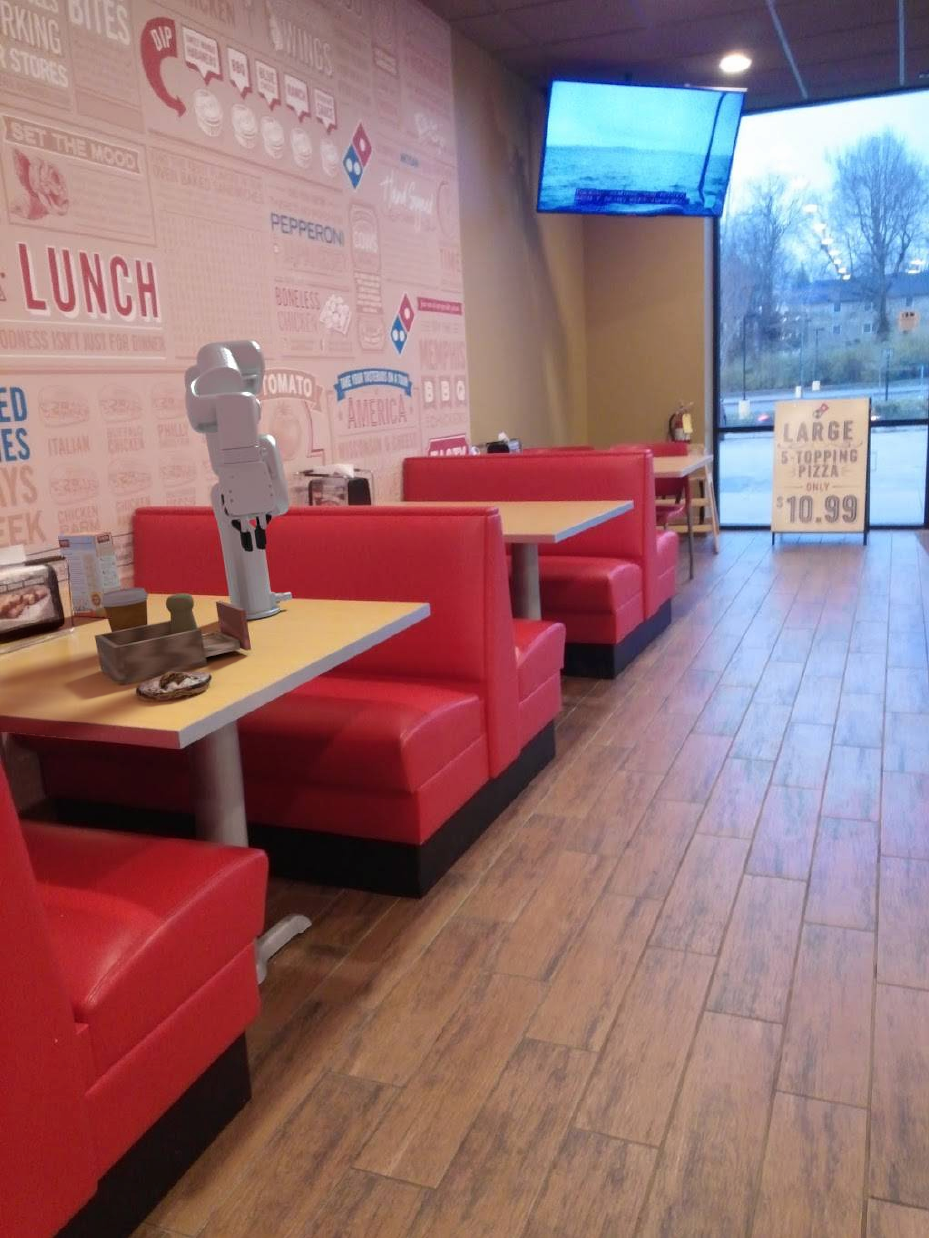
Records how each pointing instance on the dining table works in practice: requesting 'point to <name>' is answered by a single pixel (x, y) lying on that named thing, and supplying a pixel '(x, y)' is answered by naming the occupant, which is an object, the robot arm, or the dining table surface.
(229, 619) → the drawer
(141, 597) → the disposable coffee cup
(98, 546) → the cracker box
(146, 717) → the dining table surface
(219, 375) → the robot arm
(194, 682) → the pie
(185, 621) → the olive green pawn
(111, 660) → the caddy
